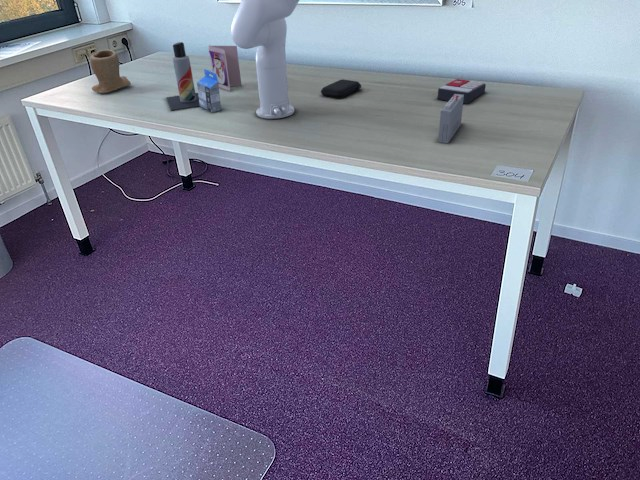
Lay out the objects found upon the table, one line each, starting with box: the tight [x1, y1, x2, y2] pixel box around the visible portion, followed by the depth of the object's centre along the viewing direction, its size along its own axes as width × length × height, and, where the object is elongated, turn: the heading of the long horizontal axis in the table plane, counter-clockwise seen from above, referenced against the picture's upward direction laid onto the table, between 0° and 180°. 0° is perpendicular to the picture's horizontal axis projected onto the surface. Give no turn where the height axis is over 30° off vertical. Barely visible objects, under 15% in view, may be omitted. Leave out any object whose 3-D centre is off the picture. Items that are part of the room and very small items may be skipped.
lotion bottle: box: [172, 41, 196, 103], centre depth 183 cm, size 6×6×20 cm
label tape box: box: [196, 68, 222, 113], centre depth 176 cm, size 9×4×12 cm, turn 40°
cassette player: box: [437, 94, 464, 144], centre depth 148 cm, size 16×3×10 cm, turn 154°
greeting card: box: [207, 45, 243, 92], centre depth 198 cm, size 11×7×15 cm, turn 42°
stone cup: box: [89, 49, 131, 94], centre depth 202 cm, size 15×12×15 cm
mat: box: [166, 92, 202, 112], centre depth 188 cm, size 16×14×1 cm
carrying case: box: [320, 78, 362, 99], centre depth 188 cm, size 11×3×15 cm
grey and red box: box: [437, 78, 487, 105], centre depth 178 cm, size 11×4×15 cm
